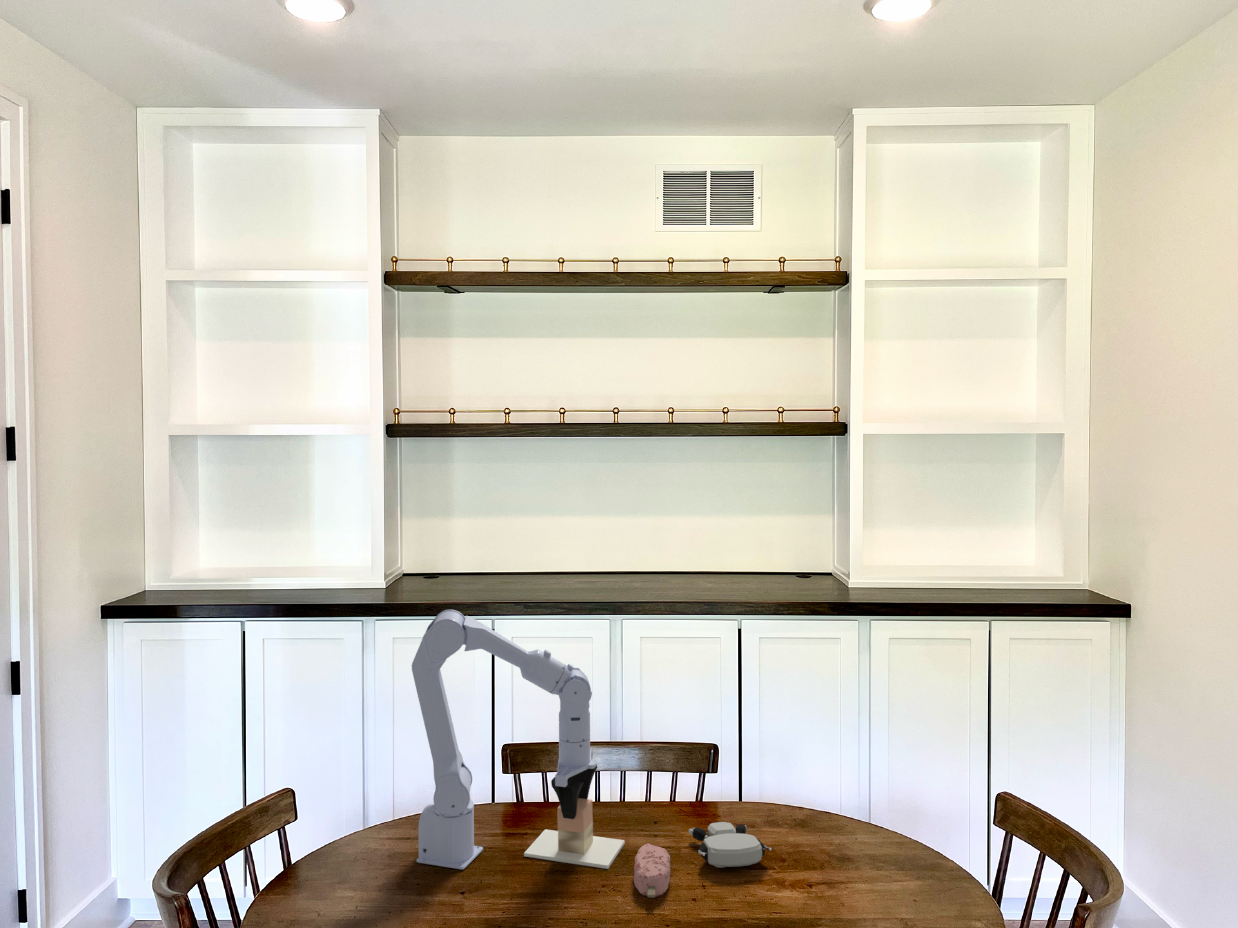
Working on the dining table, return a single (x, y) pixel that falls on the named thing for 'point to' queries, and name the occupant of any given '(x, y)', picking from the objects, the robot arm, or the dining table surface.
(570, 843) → the ash brick
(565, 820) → the terracotta brick
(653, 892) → the ice cream bar
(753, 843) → the robot toy
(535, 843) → the mat
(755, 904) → the dining table surface
